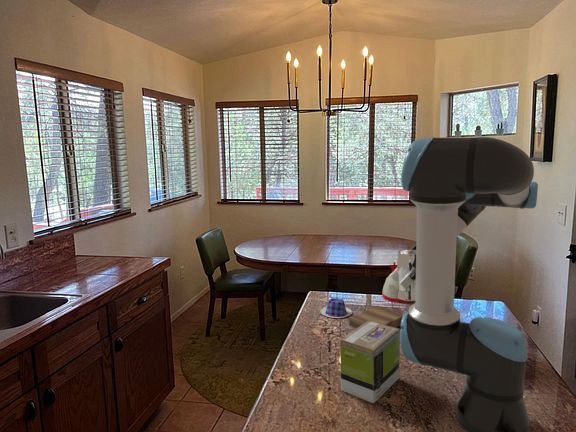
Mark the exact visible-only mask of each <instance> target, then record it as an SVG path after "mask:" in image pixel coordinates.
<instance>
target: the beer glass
mask: <svg viewBox="0 0 576 432" xmlns="http://www.w3.org/2000/svg"><path fill="white" fill-rule="evenodd" d="M415 266H416V250H409V249H400V250H398V251H397V263H396V267H397V271H398V278H399V293H398V298H399V299H401V300H405V301H413V302H415V298H416V279H415V280H414V281H413V282H412V283H411V284H410V285H409V287H408V288H407V289H405V288H404V287H403V286H402V285H401V284H400V282H401V280H402V279H403V278H404V277H405V276H406V275H407V274H408V273H409V272H410V271H411V270H412V269H413V268H415ZM415 269H416V268H415Z"/></svg>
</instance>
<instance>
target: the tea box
mask: <svg viewBox="0 0 576 432" xmlns="http://www.w3.org/2000/svg"><path fill="white" fill-rule="evenodd" d="M400 330H401V328H397V327H395V328H394V327H390V326H386V325H382V324H379V323H375V322H371V321H367V322H365V323H364V324H362V325H361V326H360V327H358V328H355V329H354V330H352V331H351V332H349V333H348V334H347V335H345V336H344V337H342V338H341V339H340V390H341V391H342V392H343V393H346V394H350V395H351V396H354V397H357V398H358V399H360V400H363V401H366V402H369V403H371V404H375V403H376V402H377V401H378V400H380V398H381V396H383V395H384V394H385V393H386V392H387V391H388V390H389V389H390V388H391V387H392V386H393V385H394V383H396V382H397V381H398V380H399V378H400V359H401V357H400V354H401V352H400V351H401V349H400V348H401V343H400Z"/></svg>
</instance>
